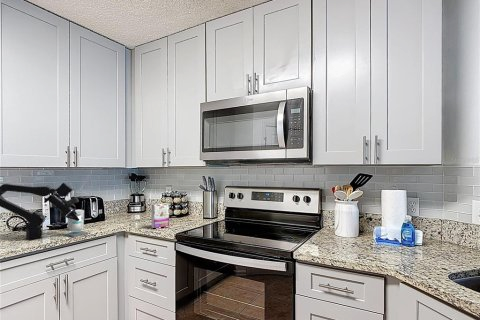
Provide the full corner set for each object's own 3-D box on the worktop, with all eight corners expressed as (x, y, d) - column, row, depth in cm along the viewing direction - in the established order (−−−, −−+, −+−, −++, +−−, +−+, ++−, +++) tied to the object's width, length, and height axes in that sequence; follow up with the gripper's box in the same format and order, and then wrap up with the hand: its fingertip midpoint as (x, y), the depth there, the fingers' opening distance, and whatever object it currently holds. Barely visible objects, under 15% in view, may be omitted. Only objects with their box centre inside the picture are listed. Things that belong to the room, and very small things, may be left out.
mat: (73, 237, 161) (73, 235, 161) (64, 235, 165) (64, 233, 165) (88, 234, 169) (88, 232, 169) (79, 232, 173) (79, 230, 173)
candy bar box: (166, 226, 194) (166, 203, 195) (169, 227, 190) (169, 203, 191) (150, 228, 187) (151, 204, 188) (153, 229, 183) (154, 205, 184)
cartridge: (72, 231, 163) (73, 215, 164) (71, 230, 167) (71, 214, 167) (81, 230, 167) (82, 214, 167) (79, 229, 170) (80, 213, 171)
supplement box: (71, 230, 178) (72, 211, 179) (67, 229, 183) (67, 210, 183) (83, 228, 184) (84, 210, 184) (79, 227, 189) (79, 209, 189)
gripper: (68, 193, 158) (89, 211, 162) (71, 191, 174) (91, 207, 179) (51, 208, 154) (73, 226, 158) (56, 204, 171) (76, 220, 175)
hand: (79, 219), depth 168 cm, fingers closed on cartridge, 4 cm apart
